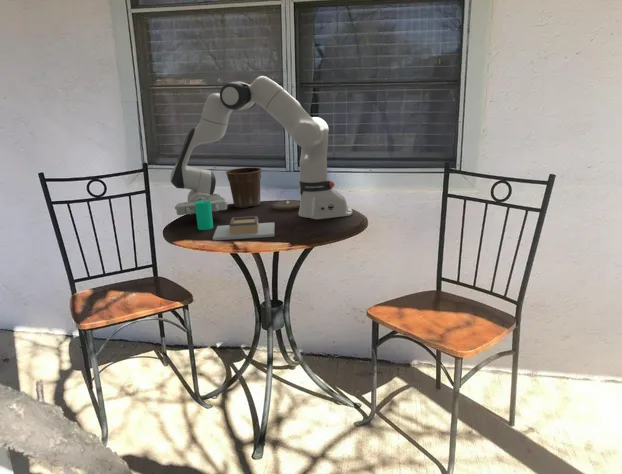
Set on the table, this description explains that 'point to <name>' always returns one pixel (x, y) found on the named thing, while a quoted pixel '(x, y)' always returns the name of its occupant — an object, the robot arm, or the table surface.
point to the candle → (204, 215)
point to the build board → (261, 232)
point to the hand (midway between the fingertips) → (203, 210)
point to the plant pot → (245, 186)
